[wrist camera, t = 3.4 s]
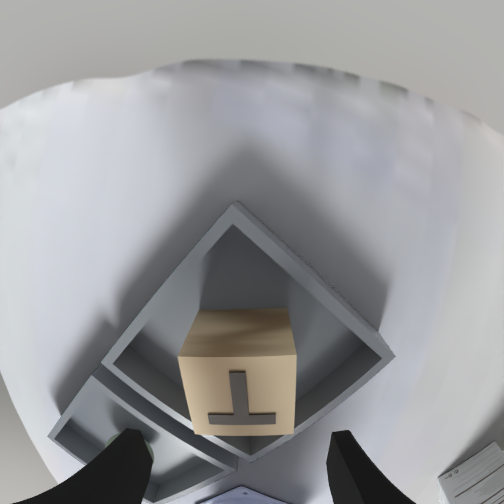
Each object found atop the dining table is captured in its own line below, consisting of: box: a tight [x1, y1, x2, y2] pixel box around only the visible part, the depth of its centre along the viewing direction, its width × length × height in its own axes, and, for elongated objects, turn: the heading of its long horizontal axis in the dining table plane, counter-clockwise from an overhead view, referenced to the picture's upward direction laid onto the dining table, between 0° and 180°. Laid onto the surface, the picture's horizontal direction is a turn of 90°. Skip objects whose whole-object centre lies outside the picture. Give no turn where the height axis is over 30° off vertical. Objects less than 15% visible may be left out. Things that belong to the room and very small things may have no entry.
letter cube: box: [178, 307, 297, 436], centre depth 15 cm, size 5×5×5 cm
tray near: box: [101, 200, 396, 463], centre depth 17 cm, size 12×12×3 cm
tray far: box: [47, 363, 238, 504], centre depth 19 cm, size 12×12×3 cm
